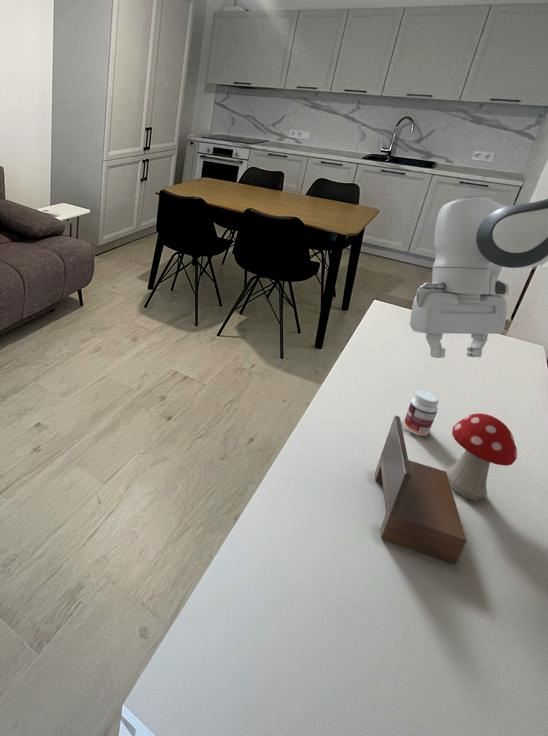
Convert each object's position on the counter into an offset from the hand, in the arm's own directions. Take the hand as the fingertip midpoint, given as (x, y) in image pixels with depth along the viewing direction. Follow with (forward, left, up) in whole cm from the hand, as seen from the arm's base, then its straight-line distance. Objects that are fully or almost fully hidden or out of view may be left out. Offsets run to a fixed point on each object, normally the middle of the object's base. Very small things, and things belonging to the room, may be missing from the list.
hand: (456, 357), depth 94 cm
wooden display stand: (+5, +23, -20) cm, 31 cm away
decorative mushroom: (-5, +11, -20) cm, 24 cm away
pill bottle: (+1, -5, -20) cm, 21 cm away
